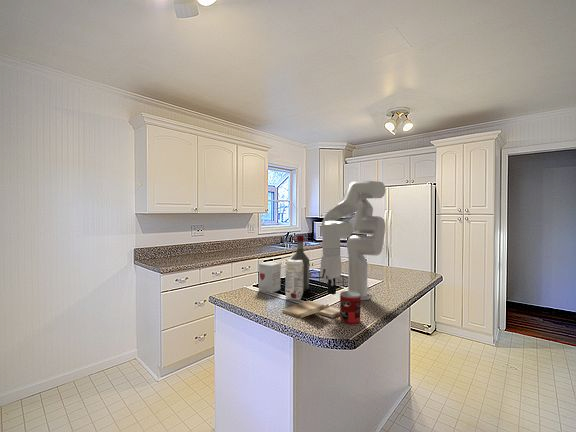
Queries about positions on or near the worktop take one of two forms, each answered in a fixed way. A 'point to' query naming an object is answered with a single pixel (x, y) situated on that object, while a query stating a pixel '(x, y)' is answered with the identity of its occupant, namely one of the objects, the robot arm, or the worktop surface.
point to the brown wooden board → (302, 308)
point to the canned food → (350, 307)
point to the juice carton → (294, 279)
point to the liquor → (304, 258)
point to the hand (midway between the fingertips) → (331, 293)
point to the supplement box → (269, 277)
